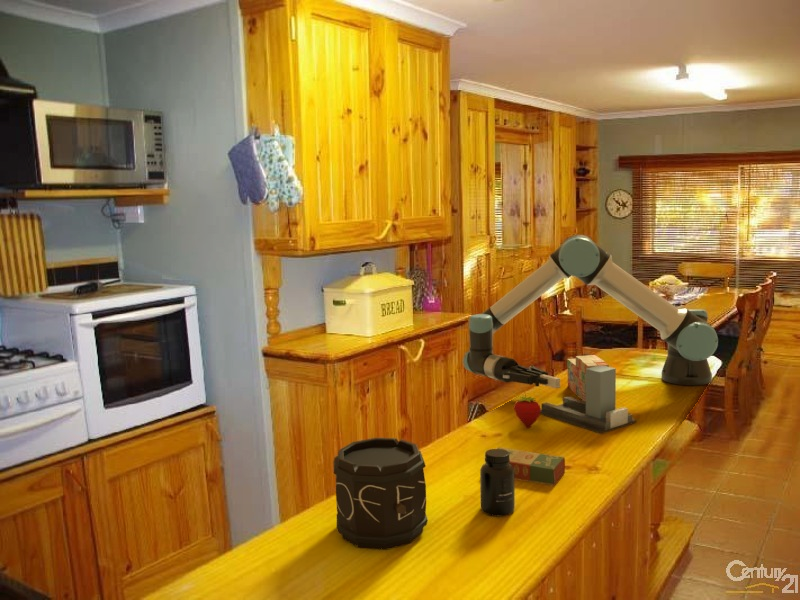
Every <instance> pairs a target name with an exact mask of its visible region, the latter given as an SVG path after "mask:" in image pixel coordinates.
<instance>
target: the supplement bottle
mask: <svg viewBox="0 0 800 600" xmlns="http://www.w3.org/2000/svg"><path fill="white" fill-rule="evenodd" d="M484 462H485V463H484V464H483V465H482V466H480V470H479V471H480V472H479V473H480V476H479V478H480V480H479V482H480V491H479V492H480V495H479V496H480V509H481V511H482V512H483V513H484V514H486V515H489V516H493V517H503V516H508V515H511V514H512V513H513V512H514V511H515V507H516V505H515V503H516V502H515V501H516V500H515V499H516V498H515V497H516V495H515V494H516V492H515V490H516V489H515V487H516V486H515V483H516V482H515V480H516V479H515V472H514V468H513V467H512V465H510V464H509V462H510V459H509V452H508V451H506V450H503V449H497V448H492V449H491V448H490V449H488V450H486V451H485V453H484Z"/></svg>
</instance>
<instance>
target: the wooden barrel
mask: <svg viewBox="0 0 800 600" xmlns="http://www.w3.org/2000/svg"><path fill="white" fill-rule="evenodd" d="M332 464H333V474H334V475H335V501H336V502H335V503H336V531H337V532H338V533H339V534H342V539H343V540H344V541H346V542H348V543H350V544H352V545H354V546H356V547H357V548H359V549H370V550H384V551H385V550H386V551H387V550H389V549H394V548H397V547H401V546H406V545H409V544H412V542H413V541H414V540H416V539H417V537H419V536H420V535H421V534H423V531H424V527H425V526H427V524H428V517H427V514H426V509H427V487H426V479H425V477H426V476H425V472H424V468H426V462H425V460H424V457H423V454H422V451H421V450H419V448H418V445H417V444H416V443H413V442H410V441H408V440H405V439H401V440H398V439H397V438H393V437H392V438H391V437H390V438H389V437H372V438H367V439H362V440H357V441H352V442H350V443H349V444H347V445H345V446H343V447H342V448H340V449H339V450H338V451H337V456H335V457H334V458H333V463H332Z"/></svg>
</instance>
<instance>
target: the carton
mask: <svg viewBox="0 0 800 600" xmlns="http://www.w3.org/2000/svg"><path fill="white" fill-rule="evenodd" d="M496 449H503V450H506V451H508V452H509V459H510V462H509V464H510V465H512V467H513V468H514V472H515V480H518V481H525V482H529V483H536V484H541V485H545V486H547V485H548V486H554V487H555V486H556V485H557V483H558V482H559V481H560V479H561V478H562V477H563V476H564V474H565V472H566V460H565V457H563V456H559V455H558V456H557V455H551V454H547V453H546V454H543V453H538V452H531V451H526V450H519V449H512V448H506V447H497V448H496Z"/></svg>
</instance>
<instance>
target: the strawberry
mask: <svg viewBox="0 0 800 600" xmlns="http://www.w3.org/2000/svg"><path fill="white" fill-rule="evenodd" d="M524 395H525V397H524V396H520V398H521V399H517V400H516V402H515V403H514V407H513V409H514V412H515V415H516V417H517V418H518V419H519V421H520V422H521V423H522V424H523V425H524V427H525V428H527V429H530V428H531V427H532V426H533V424H534V423H535V422H536V421H537V420H538V418H540V415H541V414H540V411H541V405H540V404H539V403H538V401H537V400H536V398H535V397H534V398H533V397H532V396H527V395H526V392H525V391H524ZM536 401H537V402H536Z"/></svg>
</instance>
